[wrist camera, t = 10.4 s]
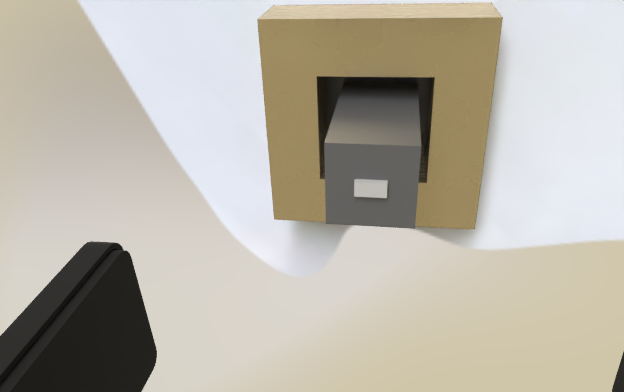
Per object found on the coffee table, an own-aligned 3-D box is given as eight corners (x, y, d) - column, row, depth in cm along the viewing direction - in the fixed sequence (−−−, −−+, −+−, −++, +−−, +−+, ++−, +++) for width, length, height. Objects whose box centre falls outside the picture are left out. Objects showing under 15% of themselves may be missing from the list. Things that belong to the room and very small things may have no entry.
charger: (417, 84, 29) (421, 149, 22) (412, 152, 31) (415, 232, 24) (343, 83, 29) (323, 145, 22) (343, 150, 31) (324, 227, 24)
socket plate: (491, 2, 26) (502, 17, 23) (468, 197, 32) (474, 229, 29) (273, 5, 28) (257, 19, 25) (286, 189, 34) (274, 219, 30)
